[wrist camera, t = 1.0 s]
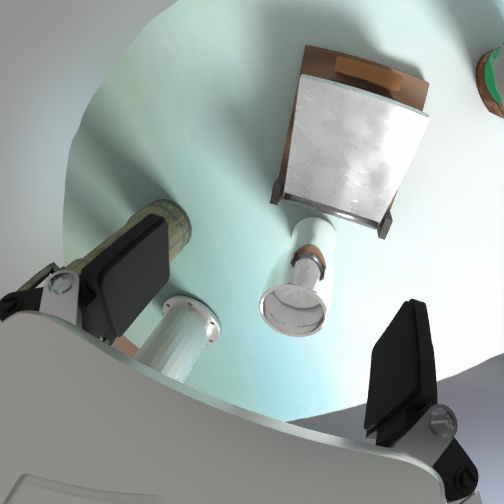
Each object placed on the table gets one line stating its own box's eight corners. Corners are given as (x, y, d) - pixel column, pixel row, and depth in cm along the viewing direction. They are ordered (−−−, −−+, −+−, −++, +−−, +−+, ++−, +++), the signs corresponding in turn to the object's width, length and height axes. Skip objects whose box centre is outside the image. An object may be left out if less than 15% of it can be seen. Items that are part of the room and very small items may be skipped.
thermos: (179, 263, 49) (43, 430, 21) (133, 213, 47) (-28, 353, 18) (209, 237, 44) (48, 436, 16) (157, 181, 42) (-42, 334, 13)
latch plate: (381, 225, 34) (384, 247, 30) (277, 192, 37) (265, 209, 32) (425, 83, 24) (440, 82, 19) (307, 46, 26) (299, 38, 21)
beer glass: (283, 217, 38) (246, 286, 26) (334, 209, 36) (322, 279, 23) (296, 262, 41) (268, 339, 29) (344, 256, 38) (335, 337, 26)
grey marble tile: (376, 222, 31) (375, 232, 30) (285, 193, 33) (281, 202, 32) (427, 112, 19) (429, 120, 18) (303, 73, 21) (299, 78, 20)
